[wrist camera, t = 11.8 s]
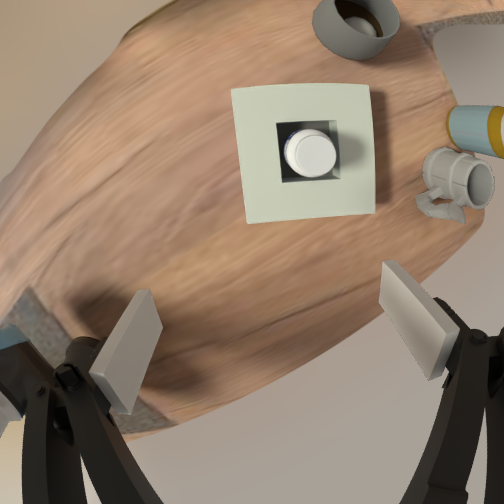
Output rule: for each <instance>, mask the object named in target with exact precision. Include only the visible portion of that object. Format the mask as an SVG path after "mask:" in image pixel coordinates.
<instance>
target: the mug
mask: <svg viewBox="0 0 504 504" xmlns="http://www.w3.org/2000/svg"><path fill="white" fill-rule="evenodd" d="M422 172H424V173H422V175H423V180H424V182H425V184H426V186H427V188H428V189H429V190H428V191H426V192H424V193H421V194H418V195H416V196H415V199H416V205H417V207H418V209H419V210H420V211H421V212H423V213H424V214H426V215H427V216H428V217H431V218H432V217H434V218H440V219H448V220H454V221H458V222H460V223H461V224H465V214H464V212H463V209H462V207H463V206H469V207H471V208H474V209H482V208H484V207H485V206H487V205H488V203H489V201H490V199H491V198H492V195H493V193H494V188H495V185H494V183H495V182H494V176H493V174H492V170H491V167H490V166H489V164H488V163H487V162H485V161H483V160H480V159H477V158H475V157H474V156H472V155H470V154H468V153H465V152H463V153H461V154H460V153H456V152H455V151H454V150H452V149H450V148H447V147H441V148H438V149H434V150H432V151H431V152H430V153H428V155H427V156H426V158H425V161H424V164H423V168H422ZM438 197H440V198H443V199H451V200H453V201H452V202H451V203H442V204H439V205H435V204H433V203H432V201H433V200H434V199H436V198H438Z"/></svg>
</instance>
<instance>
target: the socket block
mask: <svg viewBox="0 0 504 504" xmlns="http://www.w3.org/2000/svg"><path fill="white" fill-rule="evenodd" d="M231 96H232V104H233V112H234V121H235V129H236V137H237V145H238V154H239V162H240V170H241V178H242V186H243V195H244V203H245V211H246V219H247V224H253V223H263V222H273V221H284V220H295V219H306V218H318V217H331V216H344V215H357V214H372V213H375V154H374V135H373V122H372V110H371V101H370V92H369V85H360V84H339V83H301V84H279V85H265V86H254V87H245V88H236V89H231ZM305 129H314V130H318V131H320V132H322V133H324V134H325V135H327V136H328V137H329V138H330V140H331V141H332V143H333V145H334V148H335V151H336V161H335V164H334V166H333V167H332V169H331V170H330V171H329V172H327V173H325V174H323V175H321V176H318V177H306V176H303V175H300V174H298V173H297V172H295V171H294V170H293V169H292V168H291V167H290V166H289V165H288V164H287V162H286V161H285V159H284V157H283V154H282V146H283V142H284V140H285V139H286V137H287V136H288V135H289V134H291V133H292V132H294V131H297V130H305Z"/></svg>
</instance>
